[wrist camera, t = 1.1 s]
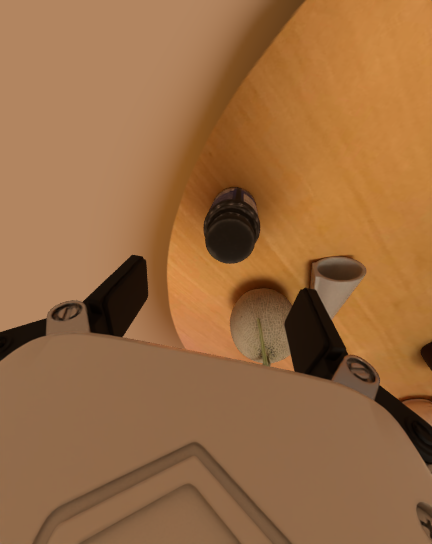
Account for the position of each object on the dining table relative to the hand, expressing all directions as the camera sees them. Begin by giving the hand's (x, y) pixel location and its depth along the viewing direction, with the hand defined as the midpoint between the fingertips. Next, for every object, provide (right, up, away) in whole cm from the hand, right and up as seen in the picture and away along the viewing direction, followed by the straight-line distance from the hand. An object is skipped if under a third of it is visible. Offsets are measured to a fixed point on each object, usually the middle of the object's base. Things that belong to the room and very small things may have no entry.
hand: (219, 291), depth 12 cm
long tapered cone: (+19, -4, +23) cm, 30 cm away
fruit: (+8, -3, +24) cm, 25 cm away
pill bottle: (+2, +10, +16) cm, 19 cm away
